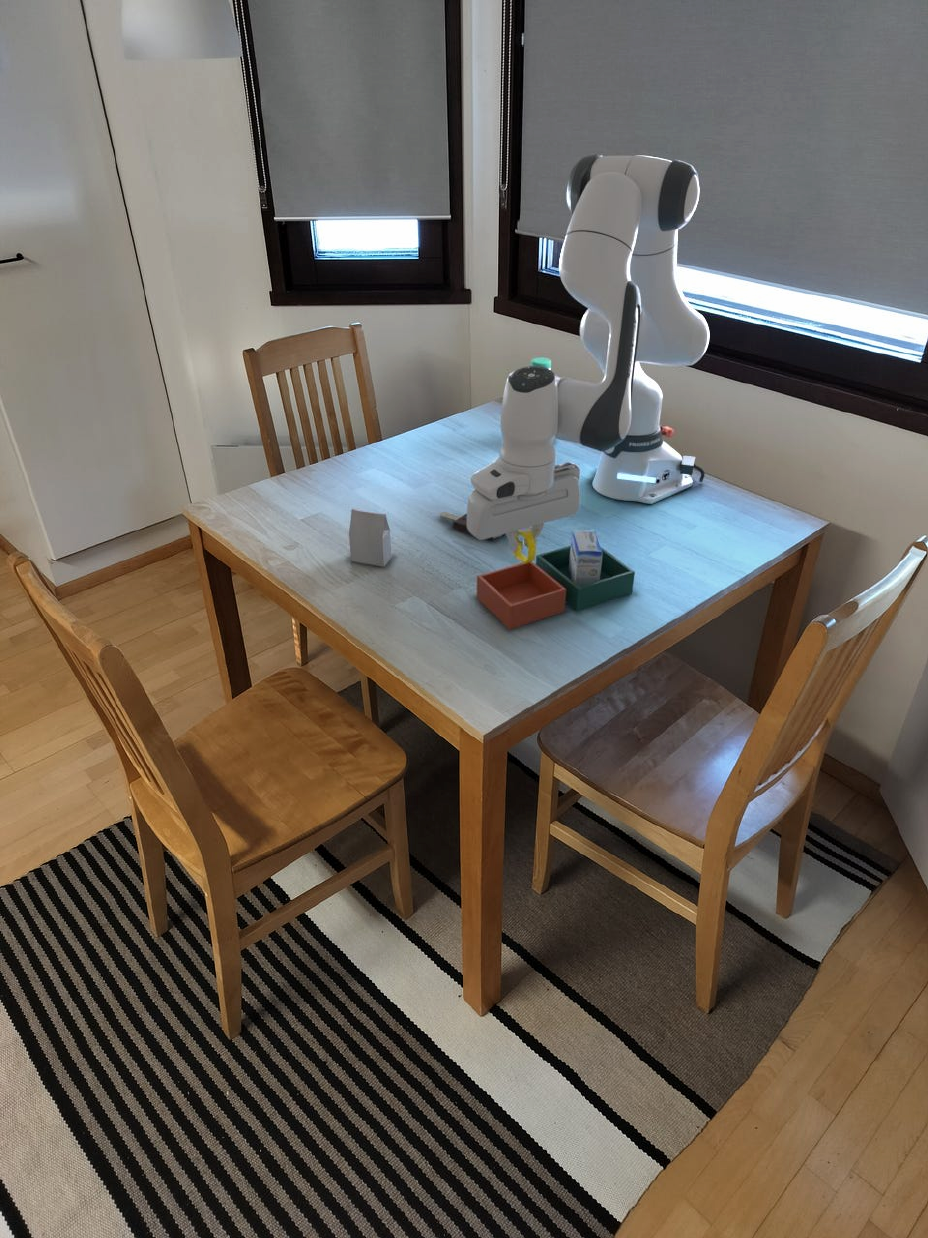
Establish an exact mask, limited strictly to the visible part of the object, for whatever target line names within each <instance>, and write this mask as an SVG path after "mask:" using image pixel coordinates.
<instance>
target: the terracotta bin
mask: <svg viewBox="0 0 928 1238" xmlns="http://www.w3.org/2000/svg"><path fill="white" fill-rule="evenodd" d="M565 598H566V589H565V588H564V587H563V586H562V585H560V584H559V583H558V582H557V581H555V580H554V579H553V578H552V577H551V576H549V575H548V574H547V573H546V572H545V571H543V570H542V569H541V568H540V567H538V566H537V565H536V562H534V561H531V562H529V563H525V564H524V563H523V562H520V563H517V564H512V565H510V566H509V565H508V566H506V567H503V568H499V569H496V570H493V571H489V572H486V573H482V574H478V575H477V576H476V599H477V600H478V601H479V602H480V603H481V604H482V605H483V606H485V607H486V608H487V609H488V610H489V611H490V612H491V613H492V614H493V615H494V616H495V617H496V618H497V619H498V620H499V621H500V622H501V623H503V625H505V627H506V628H508V629H509V630H513V629H516V628H519V627H521V626H524V625H527V624H530V623H533V622H537V621H539V620H542V619H546V618H549V617H552V616H555V615H559V614H562V613H564V612H565V610H566V609H565V607H566V602H565Z"/></svg>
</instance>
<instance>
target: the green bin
mask: <svg viewBox="0 0 928 1238" xmlns="http://www.w3.org/2000/svg"><path fill="white" fill-rule="evenodd" d="M600 547H601V550H602V552H603V556H602V565H601V573H600V581H597V582H594V583H591V584H587V585H584V586H581V587H579V586H577V585H576V584H575V583H574V582H572V581H571V578H570V574H569V571H568V568H569V559H570V549H571V545H568V546H565V547H561V548H558V549H554V550H551V551H550V550H549V551H547V552H544V553H540V554H536V555H535V564H536V565H537V566H538V567H540V568H541V569H542V570H543V571H545V572H546V573H547V574H548V575H549V576H551V577H552V578H553V579H554V580H555V581H557V582H558V583H559V584H560V585H562V586H563V587H564V588H565V589H566V598H565V604H566V605H568V606H569V607H571V609H572V610H574V611H575V612H579V611H582V610H586V609H589V608H593V607H595V606H597V605H601V604H604V603H608V602H611V601H614V600H617V599H620V598H623V597H626V596H629V595H633V591H634V590H633V589H634V583H635V574H636V571H635V570H634V569H632V568H630V567H629V566H628V565H627V564H626V563H624V562H622V561H621V560H620V559H619V558H617V557H616V556H614V555H613V554H612V553H610V552H609V551H607V550H606V549H604V548H603V547H602V546H600Z"/></svg>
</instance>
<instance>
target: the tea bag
mask: <svg viewBox="0 0 928 1238" xmlns="http://www.w3.org/2000/svg"><path fill="white" fill-rule="evenodd" d="M350 512H351V513H350V521H349V527H348V528H349V530H348V541H349V552H350V553H349V554H350V555H349V556H350V562H355V563H361V564H366V565H370V566H371V565H372V566H377V567H384V568H385V566H386V565H387V564H388V562H389V561H390V560H391V559H392V543H391V542H392V541H391V540H392V539H391V529H390V526H389V523H388V518H387V514H386V513H380V512H375V511H367V510H361V509H356V508H351V510H350Z"/></svg>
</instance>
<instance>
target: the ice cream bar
mask: <svg viewBox="0 0 928 1238" xmlns="http://www.w3.org/2000/svg"><path fill="white" fill-rule="evenodd" d="M439 517H440V518H442V519H445V520H448V521H450V522H452V528H453V529H454V530H457V531H460V532H463V533H466V534H469V535H471V536H473V535H472V534H471V533H470V532H469V531H468V529H467V512H466V513H464V514H463V515H462V516H459V515H456V514H453V513H450V512H447V511H443V512H440V513H439ZM504 536H506V534H502V535H498V536H495V537H491V538H487V539H486V541H490V542H491V541H494V540H495V539H498V538H503V537H504Z"/></svg>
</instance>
